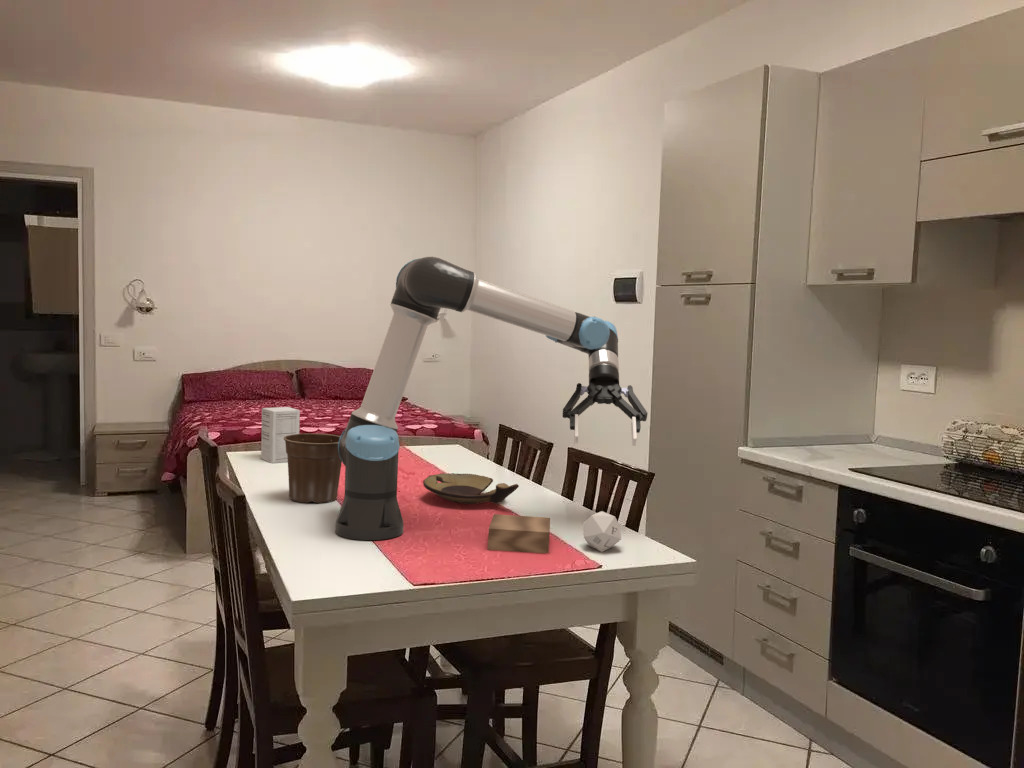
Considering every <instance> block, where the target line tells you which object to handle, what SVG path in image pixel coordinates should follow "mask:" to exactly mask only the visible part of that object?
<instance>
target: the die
mask: <svg viewBox="0 0 1024 768" xmlns="http://www.w3.org/2000/svg"><path fill="white" fill-rule="evenodd" d="M620 526H621V525H620V523H619V522H618V519H617V518H616V516H614V515H612V514H610V513H607V512H605V511H603V510H601V511H599V512H597V513H594V514H592V515H590V516H589V517H588V518H587V519H586V520H585V521H584V522H582V531H583V532H582V533H583V539H584V540H585V541H586V542H585V543H587V545H588V546H589V547H591V548H593V549H595V550H597V551H599V552H601V553H603V552H604V551H605V552H606V551H607V550H609V549H611V548H613V547H614V546H616V544H617V543H619V542H620V541H621V540H622V533H621V527H620Z"/></svg>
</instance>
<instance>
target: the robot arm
mask: <svg viewBox="0 0 1024 768" xmlns="http://www.w3.org/2000/svg"><path fill="white" fill-rule="evenodd" d="M395 281H396V282H395V289H394V290H395V291H394V293H393V296H392V299H391V302H390V305H389V306H390V307H391V310H392V312H393V315H392V318H391V320H390V323H389V327H388V329H387V332H386V335H385V338H384V340H383V343H382V346H381V349H380V351H379V354H378V357H377V359H376V361H375V362H376V363H375V366H374V367H373V372H372V374H371V376H370V380H369V383H368V385H367V388H366V391H365V394H364V397H363V400H362V402H361V405H360V406H359V408H357V409H355V410H353V411H352V412H351V414H350V416H349V418H348V423H347V425H346V426H345V427H346V428H344V430H343V431H342V433H341V435H339V436H340V438H339V442H338V452H339V456H340V459H341V460H342V463H341V464H343V465H344V466H345V468H344V469H345V471H344V497H343V501H342V503H341V506H340V509H339V512H338V514H337V517H336V520H335V529H334V530H335V531H334V532H335V533H336V535H338V536H340V537H342V538H345V539H351V540H359V541H361V540H362V541H381V540H388V539H393V538H396V537H400V536H401V535H402V534H403V533H404V523H405V522H404V519H403V516H402V511H401V510H400V508H401V507H400V505H399V502H398V474H399V472H398V469H399V451H400V446H401V445H400V441H399V439H400V437H399V434H398V433H397V432H398V430H399V429H398V428H399V427H398V425H397V422H396V415H397V412H398V410H399V407H400V405H401V402H402V399H403V396H404V393H405V390H406V388H407V384H408V382H409V379H410V376H411V374H412V370H413V368H414V365H415V362H416V359H417V356H418V354H419V352H420V351H419V350H420V348H421V346H422V343H423V339H424V337H425V334H426V331H427V330H428V329H427V328H428V326H430V325H431V324H433V323H435V322H437V319H438V316H439V315H440V311H441V309H448V310H453V311H455V312H459V313H463V312H466V311H470V312H473V313H476V314H478V315H483V316H485V317H488V318H492V319H494V320H498V321H501V322H503V323H507V324H510V325H513V326H516V327H520V328H523V329H525V330H528V331H531V332H535V333H538V334H541V335H544V336H545V337H546V338H547V339H548V340H551V341H553V342H555V343H558V344H560V345H564V346H566V347H568V348H572V349H574V350H576V351H580V352H581V353H585V354H587V355H588V385H587V386H585V385H583V384H582V383H580V382H578V383H577V384H576V388H575V391H574V392H573V394H572V395H571V397H570V398H569V399H568V401H567V402H566V404H565V406H564V407H563V409H562V418H563V419H566V418H567V419H569V429H570V431H571V430H572V431H574V432H573V433H574V437H573V438H574V444H578V441H579V417H580V415H581V414H583V413H584V412H585V411H586V410H587V409H588V408H590V407H592V406H594V404H595V403H597V405H598V404H599V405H603V404H605V405H611V404H613V405H614V406H615V407H616V408H619V409H620V411H622V412H623V413H624V414H625V415H626V416H627V417H628V418H629V419H631V422H630V423H631V424H630V425H631V446H636V444H637V440H638V438H637V436H638V434H639V433H640V432H641V422H647V419H648V414H649V413H648V411H647V410H646V408H645V407H644V406H643V404H642V403H641V401H640V400H639V398H638V397H637V395H636V394H635V392H634V388H633V386H632V385H628V386H627V387H621V384H620V373H619V370H620V366H619V337H618V331H617V330H618V329H617V328H616V326H615V324H614V323H612V322H611V321H609V320H603V318H600V317H598V316H597V317H596V316H588V315H586V314H583V313H580V312H577V311H574V310H572V309H568V308H566V307H562V306H560V305H557V304H553V303H551V302H548V301H545V300H542V299H539V298H536V297H533V296H530V295H527V294H524V293H521V292H518V291H515V290H513V289H509V288H506V287H504V286H501V285H498V284H497V283H496V284H495V283H492V282H490V281H486V280H483V279H480V278H478V276H477V275H476V272H473V271H470V270H469V269H465V268H463V267H460V266H458V265H456V264H453V263H452V262H449V261H447V260H444V259H442V258H440V257H436V256H425V257H421V258H420V257H419V258H414V259H412V260H410V261H408V262H407V263H406V264H404V266H402V268H401V269H400V270H399V272H398V273H397V276H396V280H395ZM585 393H587V396H586V397H585V398H584V399H583V400H582V401H580V403H578V402H579V400H580V399H581V396H583V395H584V394H585ZM622 395H623V396H624V397H625V398H627V400H628V401H626V400H625V399H624V398H623V397H622ZM628 402H629V403H628ZM577 403H578V404H577Z"/></svg>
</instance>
